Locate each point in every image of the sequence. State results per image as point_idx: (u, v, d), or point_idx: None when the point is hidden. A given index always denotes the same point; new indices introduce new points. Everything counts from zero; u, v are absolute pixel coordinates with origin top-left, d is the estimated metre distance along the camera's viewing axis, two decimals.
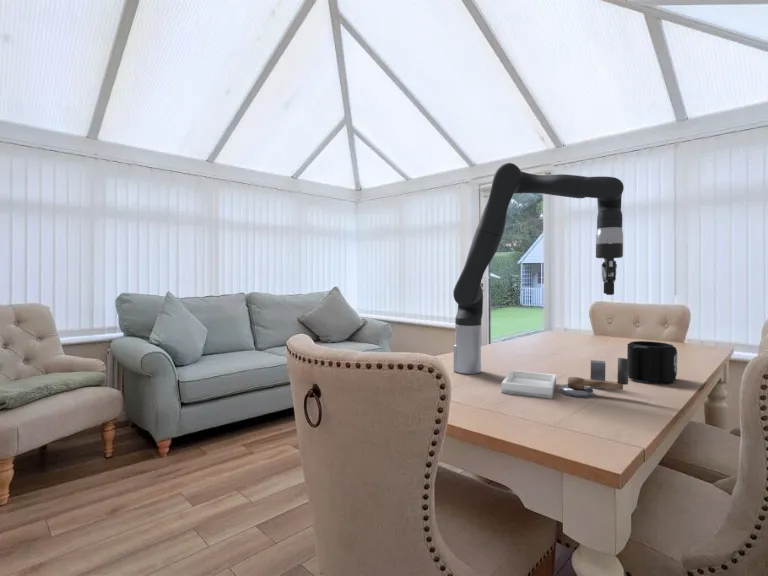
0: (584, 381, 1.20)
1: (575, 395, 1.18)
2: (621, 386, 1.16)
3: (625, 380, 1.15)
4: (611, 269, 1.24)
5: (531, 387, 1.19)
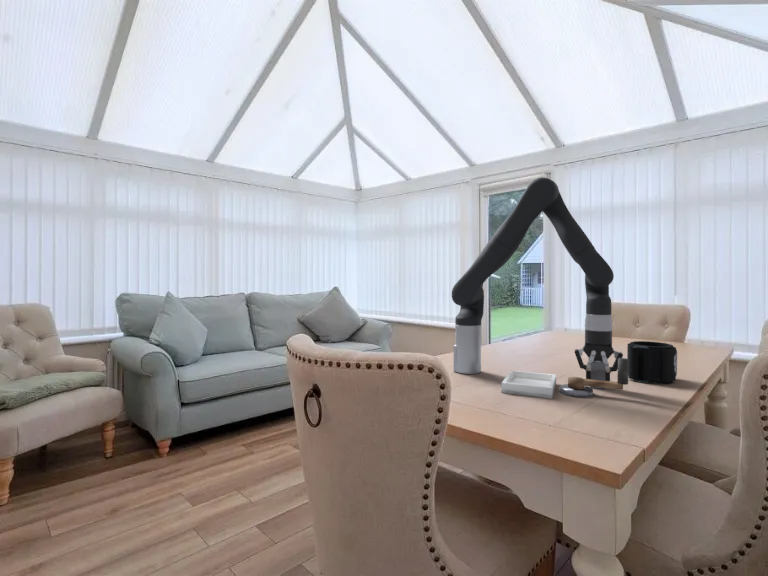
0: (584, 381, 1.20)
1: (575, 395, 1.18)
2: (621, 386, 1.16)
3: (625, 380, 1.15)
4: None
5: (531, 387, 1.19)
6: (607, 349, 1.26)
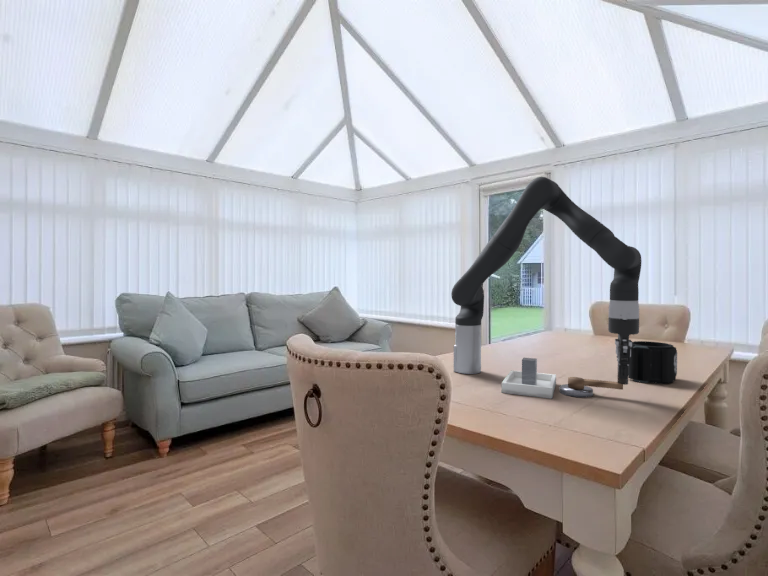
0: (584, 381, 1.20)
1: (575, 395, 1.18)
2: (621, 386, 1.16)
3: (625, 380, 1.15)
4: (625, 355, 1.11)
5: (531, 387, 1.19)
6: (619, 339, 1.15)
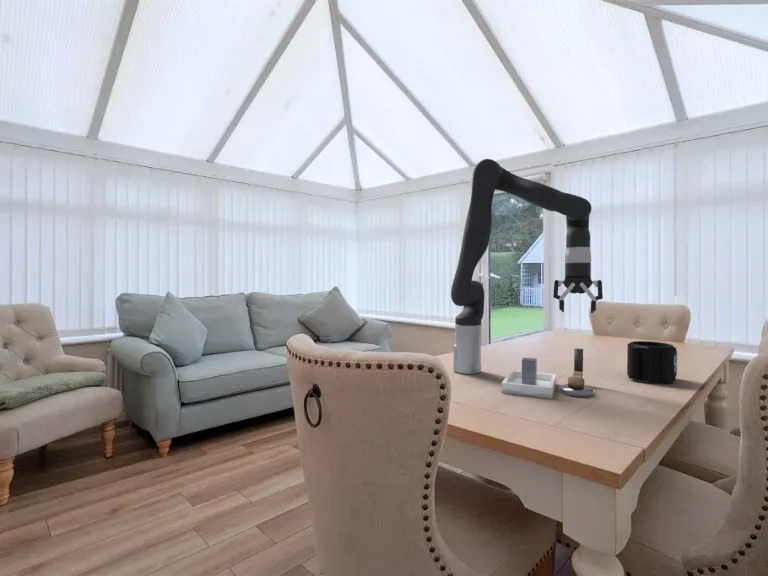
0: None
1: (575, 395, 1.18)
2: (582, 373, 1.32)
3: None
4: None
5: (531, 387, 1.19)
6: (586, 281, 1.30)
